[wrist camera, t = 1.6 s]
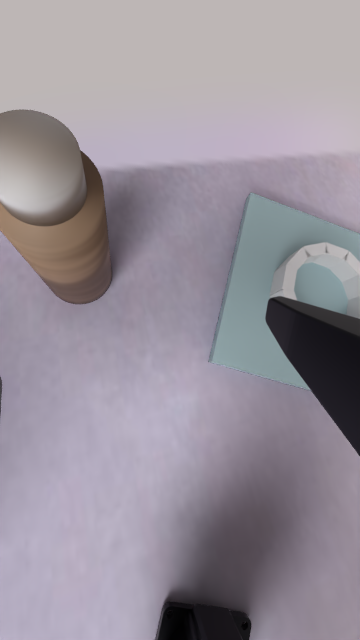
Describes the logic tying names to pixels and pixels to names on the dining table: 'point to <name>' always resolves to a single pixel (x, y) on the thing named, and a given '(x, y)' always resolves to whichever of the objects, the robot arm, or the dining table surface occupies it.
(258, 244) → the board
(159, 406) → the dining table surface
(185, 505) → the dining table surface
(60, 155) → the pepper mill
